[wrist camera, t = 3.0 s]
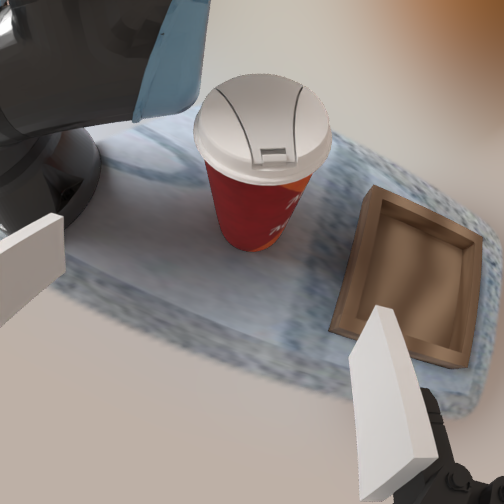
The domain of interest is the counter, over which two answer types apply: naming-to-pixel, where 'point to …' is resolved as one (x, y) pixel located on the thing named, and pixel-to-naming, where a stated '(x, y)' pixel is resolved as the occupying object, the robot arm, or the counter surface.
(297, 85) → the coffee cup
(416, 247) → the walnut tray
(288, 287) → the counter surface
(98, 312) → the counter surface
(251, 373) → the counter surface
